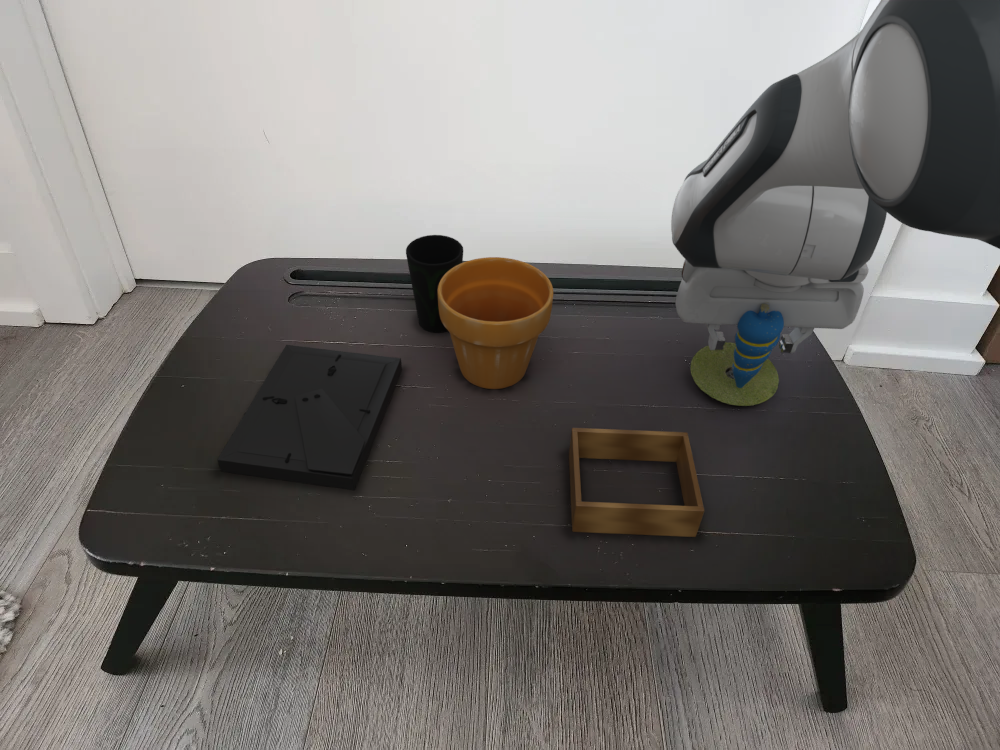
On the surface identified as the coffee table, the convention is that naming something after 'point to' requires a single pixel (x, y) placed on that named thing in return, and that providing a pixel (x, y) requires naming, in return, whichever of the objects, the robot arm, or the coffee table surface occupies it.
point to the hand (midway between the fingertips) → (750, 348)
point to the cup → (431, 275)
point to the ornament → (755, 342)
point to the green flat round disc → (731, 377)
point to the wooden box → (635, 515)
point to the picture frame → (313, 418)
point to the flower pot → (494, 317)
